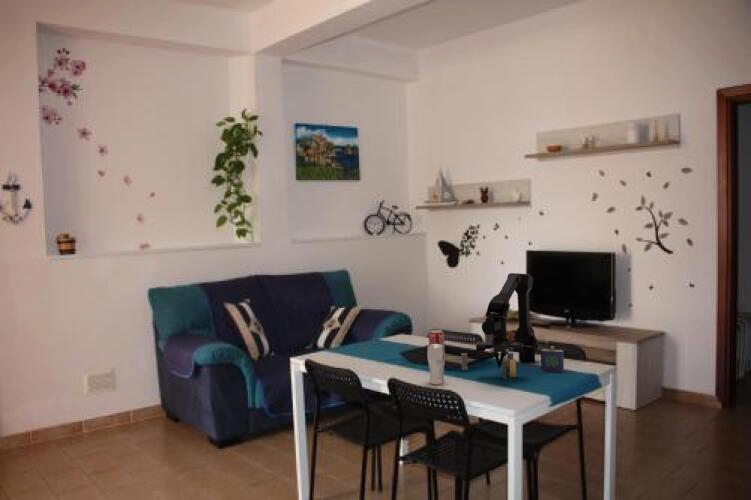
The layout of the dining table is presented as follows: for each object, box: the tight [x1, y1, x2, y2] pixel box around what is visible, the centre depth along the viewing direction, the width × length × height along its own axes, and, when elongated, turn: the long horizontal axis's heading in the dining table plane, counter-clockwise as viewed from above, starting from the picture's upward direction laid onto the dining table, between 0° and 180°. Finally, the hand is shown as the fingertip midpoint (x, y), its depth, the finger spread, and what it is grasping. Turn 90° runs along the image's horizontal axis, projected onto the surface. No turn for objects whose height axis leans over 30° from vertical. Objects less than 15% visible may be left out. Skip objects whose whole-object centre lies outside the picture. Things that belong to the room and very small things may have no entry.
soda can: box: [428, 329, 446, 352], centre depth 292 cm, size 7×7×12 cm
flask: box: [540, 345, 565, 373], centre depth 261 cm, size 9×3×11 cm, turn 74°
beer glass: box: [426, 344, 446, 386], centre depth 252 cm, size 7×7×15 cm
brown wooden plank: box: [502, 354, 509, 380], centre depth 260 cm, size 16×2×6 cm, turn 167°
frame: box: [460, 352, 517, 378], centre depth 262 cm, size 22×13×7 cm, turn 84°
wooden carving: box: [506, 329, 517, 352], centre depth 296 cm, size 16×5×10 cm, turn 76°
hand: (499, 367), depth 255 cm, fingers closed
